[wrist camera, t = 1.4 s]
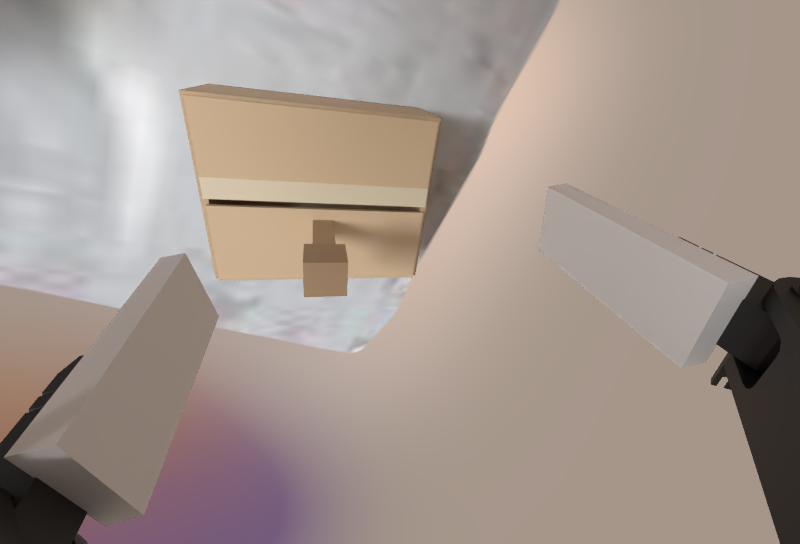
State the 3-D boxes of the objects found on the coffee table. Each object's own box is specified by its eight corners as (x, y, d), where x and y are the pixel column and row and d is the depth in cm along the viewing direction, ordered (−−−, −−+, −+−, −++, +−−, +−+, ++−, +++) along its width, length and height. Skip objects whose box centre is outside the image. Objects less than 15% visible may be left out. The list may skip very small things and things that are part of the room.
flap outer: (220, 278, 32) (189, 350, 24) (206, 204, 28) (164, 260, 20) (411, 275, 36) (438, 334, 28) (421, 211, 32) (456, 259, 25)
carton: (232, 241, 38) (213, 283, 31) (208, 83, 30) (174, 91, 23) (399, 242, 43) (417, 280, 36) (417, 107, 35) (445, 120, 28)
